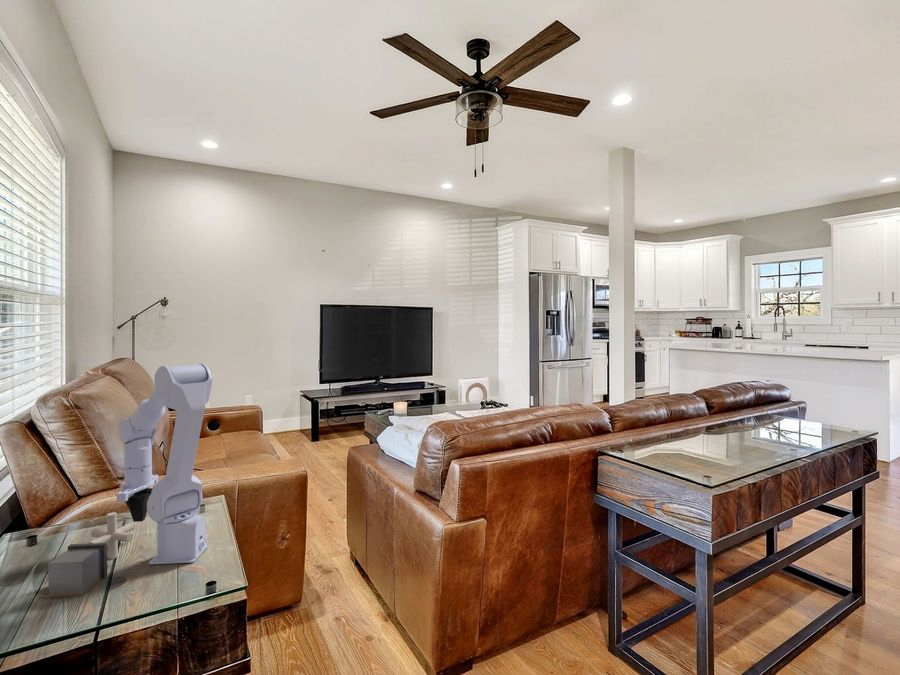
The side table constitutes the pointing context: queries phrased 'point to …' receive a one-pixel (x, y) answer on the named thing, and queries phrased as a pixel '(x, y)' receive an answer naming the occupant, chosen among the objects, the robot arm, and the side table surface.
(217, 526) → the side table surface
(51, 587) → the duct stub
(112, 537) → the pipe connector
